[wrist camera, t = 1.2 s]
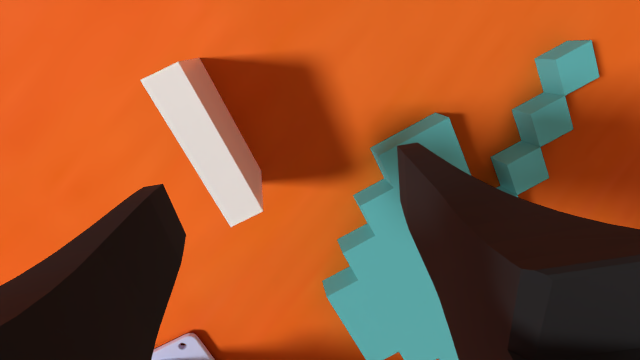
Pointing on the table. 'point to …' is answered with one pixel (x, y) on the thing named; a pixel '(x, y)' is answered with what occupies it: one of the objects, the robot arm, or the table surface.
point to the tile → (208, 137)
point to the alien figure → (395, 238)
